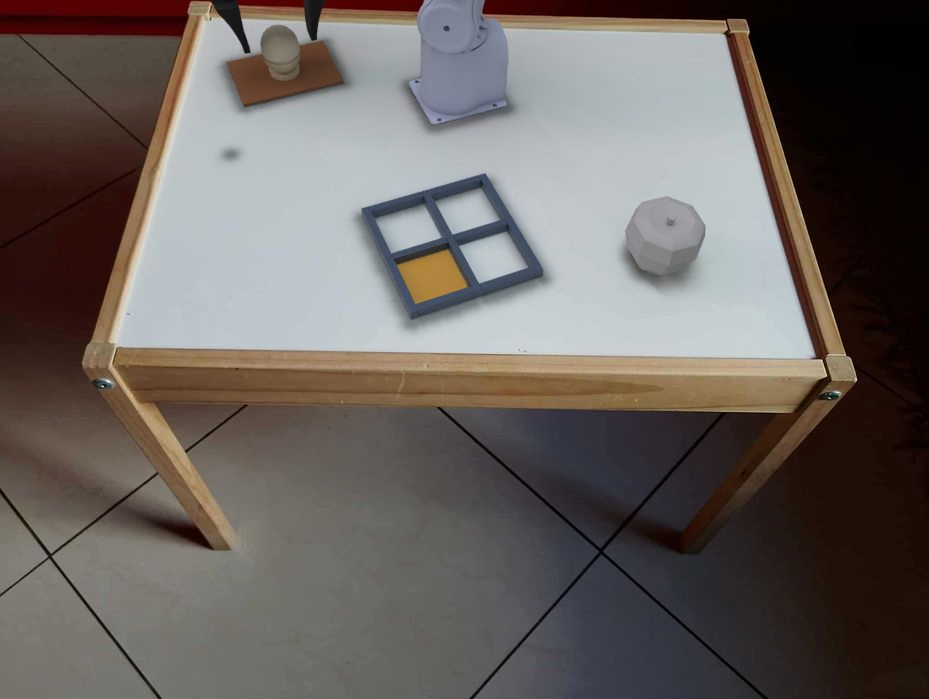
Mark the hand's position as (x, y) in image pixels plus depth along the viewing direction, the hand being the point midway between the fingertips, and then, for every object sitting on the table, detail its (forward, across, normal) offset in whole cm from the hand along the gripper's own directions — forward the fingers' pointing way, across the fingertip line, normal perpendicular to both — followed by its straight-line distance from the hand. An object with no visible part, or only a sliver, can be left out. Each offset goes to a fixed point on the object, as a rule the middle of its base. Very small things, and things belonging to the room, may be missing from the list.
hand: (279, 41), depth 86 cm
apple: (+5, +29, -40) cm, 49 cm away
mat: (+4, 0, 0) cm, 4 cm away
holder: (+4, +10, -32) cm, 33 cm away
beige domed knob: (+4, 0, 0) cm, 4 cm away
